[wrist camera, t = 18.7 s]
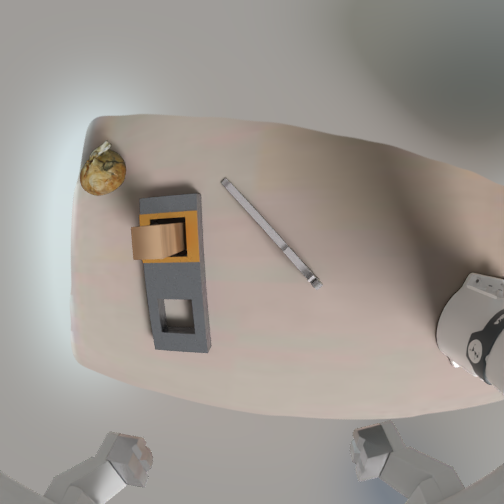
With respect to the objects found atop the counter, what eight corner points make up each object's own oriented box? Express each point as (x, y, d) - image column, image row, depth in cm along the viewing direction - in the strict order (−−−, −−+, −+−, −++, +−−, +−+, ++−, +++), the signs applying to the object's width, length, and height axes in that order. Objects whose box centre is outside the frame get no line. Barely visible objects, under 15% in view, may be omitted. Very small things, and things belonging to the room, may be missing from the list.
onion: (93, 158, 42) (65, 151, 34) (131, 146, 41) (106, 136, 33) (96, 200, 43) (67, 199, 35) (134, 191, 42) (108, 187, 34)
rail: (201, 194, 41) (195, 193, 38) (211, 346, 44) (207, 353, 41) (146, 199, 42) (138, 198, 39) (160, 343, 45) (154, 350, 42)
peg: (185, 222, 42) (160, 225, 32) (187, 248, 42) (162, 259, 32) (161, 223, 42) (131, 227, 32) (163, 249, 43) (133, 259, 33)
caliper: (319, 279, 42) (327, 290, 35) (314, 284, 42) (320, 295, 36) (226, 177, 41) (218, 171, 35) (220, 183, 41) (211, 177, 35)
